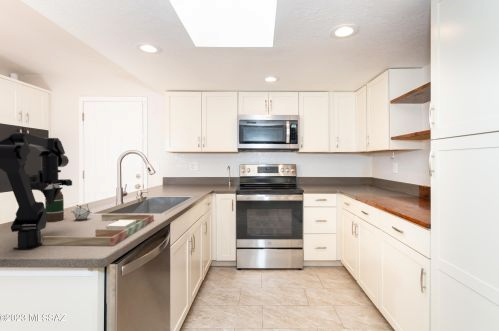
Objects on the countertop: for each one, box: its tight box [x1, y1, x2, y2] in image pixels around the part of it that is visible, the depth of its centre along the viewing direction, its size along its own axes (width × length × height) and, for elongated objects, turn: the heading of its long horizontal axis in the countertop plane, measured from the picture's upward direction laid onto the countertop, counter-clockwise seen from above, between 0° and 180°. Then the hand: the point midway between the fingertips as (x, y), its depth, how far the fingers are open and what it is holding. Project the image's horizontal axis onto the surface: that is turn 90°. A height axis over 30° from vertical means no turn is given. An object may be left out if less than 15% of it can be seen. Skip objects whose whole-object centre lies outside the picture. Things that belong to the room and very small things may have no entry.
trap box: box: [41, 213, 155, 247], centre depth 120 cm, size 40×27×3 cm
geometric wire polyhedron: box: [71, 203, 92, 221], centre depth 140 cm, size 9×8×10 cm
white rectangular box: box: [106, 220, 136, 230], centre depth 120 cm, size 11×8×4 cm
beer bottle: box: [44, 190, 65, 223], centre depth 138 cm, size 8×8×24 cm
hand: (50, 204), depth 112 cm, fingers closed
